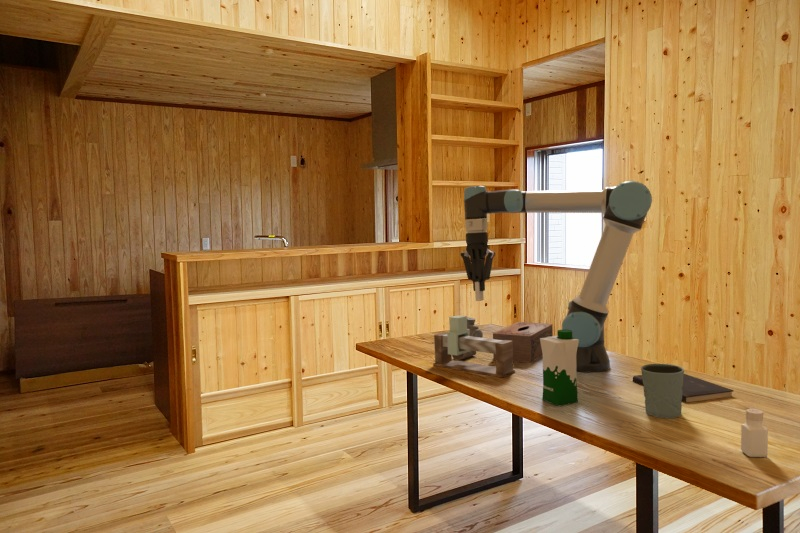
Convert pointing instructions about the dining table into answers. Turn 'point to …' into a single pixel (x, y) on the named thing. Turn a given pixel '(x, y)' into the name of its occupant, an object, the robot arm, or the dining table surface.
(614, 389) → the dining table surface
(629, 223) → the robot arm
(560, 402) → the milk carton
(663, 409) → the grey green cup
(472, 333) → the pipe fitting
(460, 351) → the pale green slider block
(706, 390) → the hardcover book
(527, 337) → the tissue box cover
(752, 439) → the salt shaker
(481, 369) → the rail
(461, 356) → the pipe
